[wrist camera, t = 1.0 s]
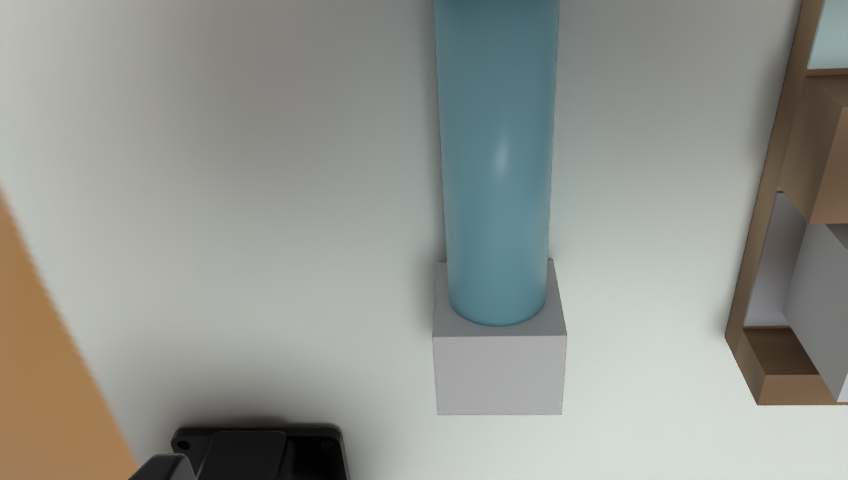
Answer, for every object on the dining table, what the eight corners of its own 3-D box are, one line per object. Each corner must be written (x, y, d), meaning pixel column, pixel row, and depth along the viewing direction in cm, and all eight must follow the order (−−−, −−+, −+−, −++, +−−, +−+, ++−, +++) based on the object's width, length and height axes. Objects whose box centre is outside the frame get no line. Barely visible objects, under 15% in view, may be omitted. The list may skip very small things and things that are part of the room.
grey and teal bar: (549, 333, 23) (561, 414, 20) (441, 334, 23) (437, 414, 20) (576, -200, 15) (604, -200, 12) (409, -189, 15) (396, -185, 12)
